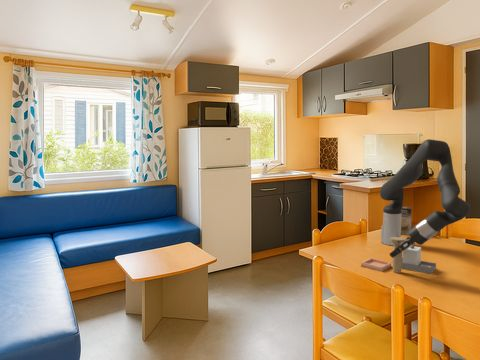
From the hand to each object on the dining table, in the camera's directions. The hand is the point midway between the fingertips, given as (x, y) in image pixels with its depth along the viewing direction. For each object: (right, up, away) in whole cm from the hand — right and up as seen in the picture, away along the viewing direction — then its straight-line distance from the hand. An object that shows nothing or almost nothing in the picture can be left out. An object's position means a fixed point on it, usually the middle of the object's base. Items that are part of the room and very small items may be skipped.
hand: (393, 253), depth 170 cm
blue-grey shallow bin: (+12, -7, +4) cm, 15 cm away
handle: (+1, -8, 0) cm, 8 cm away
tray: (-5, -7, +8) cm, 12 cm away
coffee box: (+31, 0, +64) cm, 71 cm away
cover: (+10, -5, +5) cm, 13 cm away
